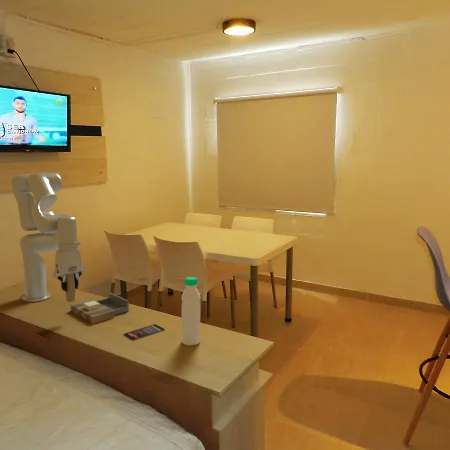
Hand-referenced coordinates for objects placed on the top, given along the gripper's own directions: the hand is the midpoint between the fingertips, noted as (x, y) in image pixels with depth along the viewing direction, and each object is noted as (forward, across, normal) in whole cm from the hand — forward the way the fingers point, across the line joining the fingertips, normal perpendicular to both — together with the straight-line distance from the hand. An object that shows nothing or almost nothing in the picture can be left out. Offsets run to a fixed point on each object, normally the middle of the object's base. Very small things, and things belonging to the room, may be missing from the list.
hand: (70, 288), depth 172 cm
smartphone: (+15, -15, +31) cm, 38 cm away
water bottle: (+15, -22, +51) cm, 57 cm away
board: (+14, -10, 0) cm, 17 cm away
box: (+14, -19, 0) cm, 23 cm away
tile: (+11, -10, 0) cm, 14 cm away
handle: (+5, 0, 0) cm, 5 cm away
